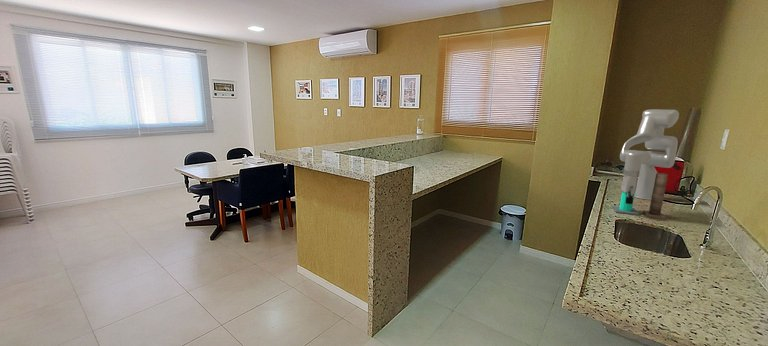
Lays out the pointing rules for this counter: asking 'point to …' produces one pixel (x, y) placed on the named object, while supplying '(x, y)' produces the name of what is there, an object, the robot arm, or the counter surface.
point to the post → (657, 197)
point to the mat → (617, 210)
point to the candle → (623, 205)
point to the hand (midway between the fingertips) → (626, 201)
